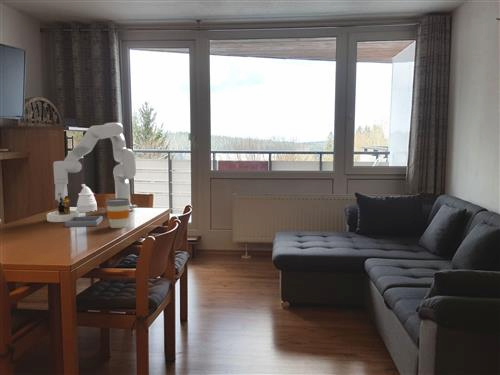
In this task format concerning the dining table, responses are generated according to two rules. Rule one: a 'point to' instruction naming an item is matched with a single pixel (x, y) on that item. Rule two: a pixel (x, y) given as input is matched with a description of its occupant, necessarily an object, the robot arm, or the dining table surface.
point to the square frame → (84, 221)
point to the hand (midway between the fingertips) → (63, 210)
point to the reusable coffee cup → (118, 212)
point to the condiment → (65, 207)
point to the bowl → (61, 216)
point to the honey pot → (86, 200)
